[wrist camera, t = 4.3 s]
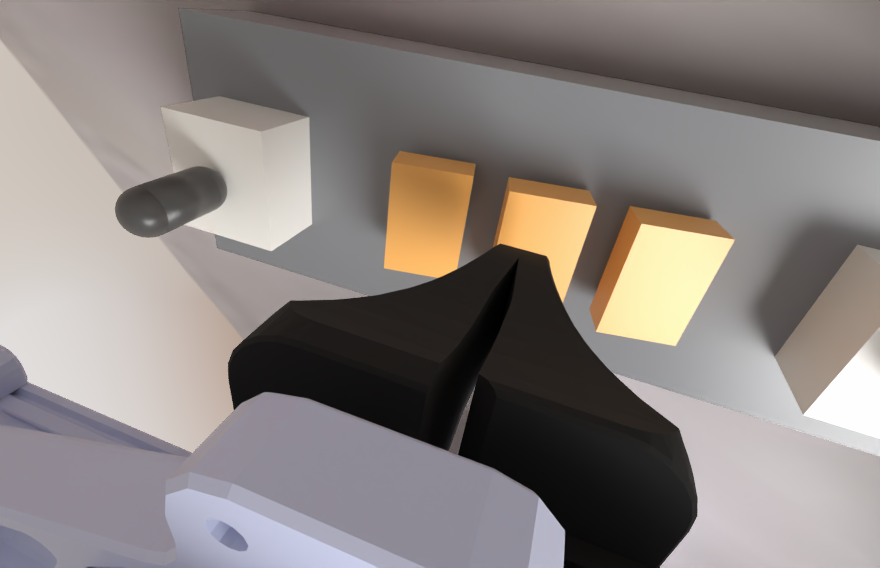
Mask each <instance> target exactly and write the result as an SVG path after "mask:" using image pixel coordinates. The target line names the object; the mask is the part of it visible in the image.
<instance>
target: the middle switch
mask: <svg viewBox="0 0 880 568" xmlns="http://www.w3.org/2000/svg"><path fill="white" fill-rule="evenodd" d="M596 207H597V205H596V203H595V201H594V199H593V197H592V195H591V193H590V191H588V190H582V189H577V188H571V187H565V186H559V185H553V184H547V183H541V182H535V181H530V180H524V179H518V178H512V177H509V178H508V183H507V187H506V191H505V196H504V200H503V205H502V209H501V213H500V218H499V222H498V227H497V231H496V236H495V240H494V244H493V247H495V246H496V245H498V244H500V243H501V244H504V245H508V246H512V247H515V248H519V249H523V250H526V251H530V252H534V253H538V254H541V255H545V256H547V257H548V259H549V261H550V268H551V272H552V276H553V279H554V282H555V285H556V288H557V290H558V293H559V295H560V298H561V300H562V303H563V301H564V298H565V295H566V292H567V289H568V287H569V284H570V281H571V278H572V275H573V272H574V270H575V267H576V264H577V261H578V258H579V255H580V253H581V250H582V247H583V244H584V241H585V238H586V236H587V233H588V230H589V227H590V224H591V221H592V219H593V216H594V213H595V210H596Z"/></svg>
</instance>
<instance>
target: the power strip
mask: <svg viewBox="0 0 880 568" xmlns="http://www.w3.org/2000/svg"><path fill="white" fill-rule="evenodd" d="M179 15H180V21H181V27H182V33H183V39H184V46H185V52H186V58H187V64H188V70H189V77H190V83H191V89H192V95H193V101H196V100H201V99H207V98H212V97H218V96H221V97H225V98H230V99H234V100H238V101H243V102H247V103H251V104H256V105H260V106H264V107H268V108H273V109H277V110H281V111H286V112H290V113H294V114H298V115H303V116H307V117H309V127H310V165H311V203H312V225H310V226H309V227H307V228H306V229H304V230H303V231H301V232H300V233H298V234H297V235H295V236H294V237H292V238H291V239H289V240H288V241H286V242H285V243H283V244H282V245H280V246H279V247H277V248H276V249H274V250H273V251H268V250H265V249H262V248H259V247H255V246H252V245H249V244H246V243H242V242H239V241H236V240H233V239H229V238H226V237H223V236H220V235H216V234H215V238H216V244H217V248H219V249H222V250H225V251H228V252H232V253H235V254H238V255H241V256H244V257H247V258H251V259H254V260H257V261H260V262H263V263H266V264H270V265H273V266H276V267H279V268H282V269H286V270H289V271H292V272H295V273H298V274H301V275H305V276H308V277H311V278H314V279H317V280H320V281H324V282H327V283H330V284H333V285H336V286H340V287H343V288H346V289H349V290H352V291H355V292H359V293H362V294H365V295H368V296H374V295H380V294H384V293H389V292H393V291H398V290H402V289H406V288H410V287H414V286H417V285H420V284H423V283H426V282H429V281H432V280H434V279H437V278H436V277H430V276H425V275H419V274H413V273H408V272H402V271H396V270H391V269H385V268H384V260H385V247H386V233H387V220H388V207H389V194H390V181H391V167H392V161H393V160H394V159H395V157H396V156H397V154H398V153H399V151H403V152H409V153H415V154H421V155H427V156H433V157H439V158H445V159H450V160H456V161H462V162H468V163H474V164H476V166H475V172H474V178H473V184H472V189H471V195H470V200H469V206H468V211H467V217H466V222H465V228H464V233H463V239H462V244H461V250H460V255H459V261H458V266H457V269H458V268H460V267H462V266H464V265H465V264H467V263H469V262H471V261H472V260H474V259H476V258H477V257H479V256H481V255H482V254H484V253H485V252H487V251H488V250H490V249H491V248H493V244H494V240H495V236H496V231H497V227H498V222H499V218H500V213H501V209H502V205H503V200H504V196H505V191H506V187H507V183H508V178H509V177H512V178H518V179H524V180H530V181H535V182H541V183H547V184H553V185H559V186H565V187H571V188H577V189H582V190H588V191H590V193H591V195H592V197H593V199H594V201H595V203H596V205H597V207H596V210H595V213H594V216H593V219H592V221H591V224H590V227H589V230H588V233H587V236H586V238H585V241H584V244H583V247H582V250H581V253H580V255H579V258H578V261H577V264H576V267H575V270H574V272H573V275H572V278H571V281H570V284H569V287H568V289H567V292H566V295H565V298H564V301H563V305H564V307H565V309H566V311H567V313H568V315H569V317H570V319H571V321H572V322H573V324H574V326H575V327H576V329H577V330H578V332H579V333H580V335H581V336H582V338H583V339H584V341H585V342H586V343H587V345H588V346H589V347H590V348H591V350H592V351H593V352H594V353H595V354H596V355H597V357H598V358H599V359H600V360H601V361H602V362H603V363H604V365H605V366H606V367H607V368H608V369H609V370H610V371H611V372H613V373H616V374H619V375H622V376H625V377H628V378H632V379H635V380H638V381H641V382H644V383H648V384H651V385H654V386H657V387H660V388H663V389H667V390H670V391H673V392H676V393H679V394H682V395H686V396H689V397H692V398H695V399H698V400H701V401H705V402H708V403H711V404H714V405H717V406H721V407H724V408H727V409H730V410H733V411H736V412H740V413H743V414H746V415H749V416H752V417H755V418H759V419H762V420H765V421H768V422H771V423H775V424H778V425H781V426H784V427H787V428H790V429H794V430H797V431H800V432H803V433H806V434H809V435H813V436H816V437H819V438H822V439H825V440H828V441H832V442H835V443H838V444H841V445H844V446H848V447H851V448H854V449H857V450H860V451H863V452H867V453H870V454H873V455H876V456H879V457H880V439H879V438H876V437H873V436H869V435H866V434H863V433H860V432H856V431H853V430H850V429H847V428H843V427H840V426H837V425H834V424H830V423H827V422H824V421H821V420H817V419H814V418H811V417H808V416H804V415H803V414H802V412H801V410H800V408H799V406H798V404H797V402H796V400H795V398H794V396H793V394H792V391H791V389H790V387H789V385H788V383H787V381H786V379H785V377H784V375H783V373H782V371H781V369H780V367H779V365H778V363H777V361H776V359H775V356H776V354H777V353H778V352H779V350H780V349H781V348H782V346H783V345H784V344H785V342H786V341H787V339H788V338H789V337H790V335H791V334H792V333H793V331H794V330H795V329H796V327H797V326H798V325H799V323H800V322H801V320H802V319H803V318H804V316H805V315H806V314H807V312H808V311H809V310H810V308H811V307H812V305H813V304H814V303H815V301H816V300H817V299H818V297H819V296H820V295H821V293H822V292H823V291H824V289H825V288H826V286H827V285H828V284H829V282H830V281H831V280H832V278H833V277H834V276H835V274H836V273H837V272H838V270H839V269H840V267H841V266H842V265H843V263H844V262H845V261H846V259H847V258H848V257H849V255H850V254H851V253H852V251H853V250H854V248H855V247H856V246H857V245H861V246H865V247H870V248H874V249H878V250H880V127H878V126H872V125H867V124H862V123H856V122H851V121H845V120H840V119H834V118H829V117H824V116H818V115H813V114H807V113H802V112H796V111H791V110H786V109H780V108H775V107H769V106H764V105H758V104H753V103H748V102H742V101H737V100H731V99H726V98H720V97H715V96H709V95H704V94H699V93H693V92H688V91H682V90H677V89H671V88H666V87H661V86H655V85H650V84H644V83H639V82H633V81H628V80H623V79H617V78H612V77H606V76H601V75H595V74H590V73H584V72H579V71H574V70H568V69H563V68H557V67H552V66H546V65H541V64H536V63H530V62H525V61H519V60H514V59H508V58H503V57H498V56H492V55H487V54H481V53H476V52H470V51H465V50H460V49H454V48H449V47H443V46H438V45H432V44H427V43H421V42H416V41H411V40H405V39H400V38H394V37H389V36H383V35H378V34H373V33H367V32H362V31H356V30H351V29H345V28H340V27H335V26H329V25H324V24H318V23H313V22H307V21H302V20H297V19H291V18H286V17H280V16H275V15H269V14H264V13H258V12H253V11H239V10H213V9H187V8H179ZM630 206H633V207H639V208H645V209H651V210H657V211H662V212H668V213H674V214H680V215H686V216H692V217H698V218H703V219H709V220H715V221H717V222H718V223H719V224H720V225H721V226H722V227H723V228H724V229H725V230H726V231H727V232H728V233H729V234H730V235H731V236H732V237H733V238H734V239H735V241H734V243H733V244H732V246H731V248H730V250H729V251H728V253H727V255H726V257H725V259H724V260H723V262H722V264H721V266H720V267H719V269H718V271H717V273H716V275H715V276H714V278H713V280H712V282H711V283H710V285H709V287H708V289H707V291H706V292H705V294H704V296H703V298H702V300H701V301H700V303H699V305H698V307H697V308H696V310H695V312H694V314H693V316H692V317H691V319H690V321H689V323H688V324H687V326H686V328H685V330H684V332H683V333H682V335H681V337H680V339H679V341H678V342H677V344H676V346H673V345H668V344H662V343H657V342H651V341H645V340H640V339H634V338H628V337H623V336H617V335H612V334H606V333H600V332H596V330H595V326H594V323H593V320H592V316H591V313H590V310H589V308H590V306H591V303H592V301H593V298H594V296H595V293H596V291H597V288H598V285H599V283H600V280H601V278H602V275H603V273H604V270H605V268H606V265H607V263H608V260H609V258H610V255H611V253H612V250H613V248H614V245H615V243H616V240H617V238H618V235H619V233H620V230H621V227H622V225H623V222H624V220H625V217H626V215H627V212H628V210H629V207H630Z"/></svg>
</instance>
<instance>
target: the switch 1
mask: <svg viewBox="0 0 880 568" xmlns="http://www.w3.org/2000/svg"><path fill="white" fill-rule="evenodd" d="M475 166H476V164H474V163H468V162H462V161H456V160H450V159H445V158H439V157H433V156H427V155H421V154H415V153H409V152H403V151H399V153H398V154H397V156H396V157H395V159H394V160H393V161H392V167H391V181H390V194H389V207H388V220H387V233H386V247H385V260H384V268H385V269H391V270H396V271H402V272H408V273H413V274H419V275H425V276H430V277H436V278H439V277H442V276H444V275H446V274H448V273H450V272H452V271H454V270H456V269H457V266H458V261H459V255H460V250H461V244H462V239H463V233H464V228H465V222H466V217H467V211H468V206H469V200H470V195H471V189H472V184H473V178H474V172H475Z"/></svg>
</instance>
